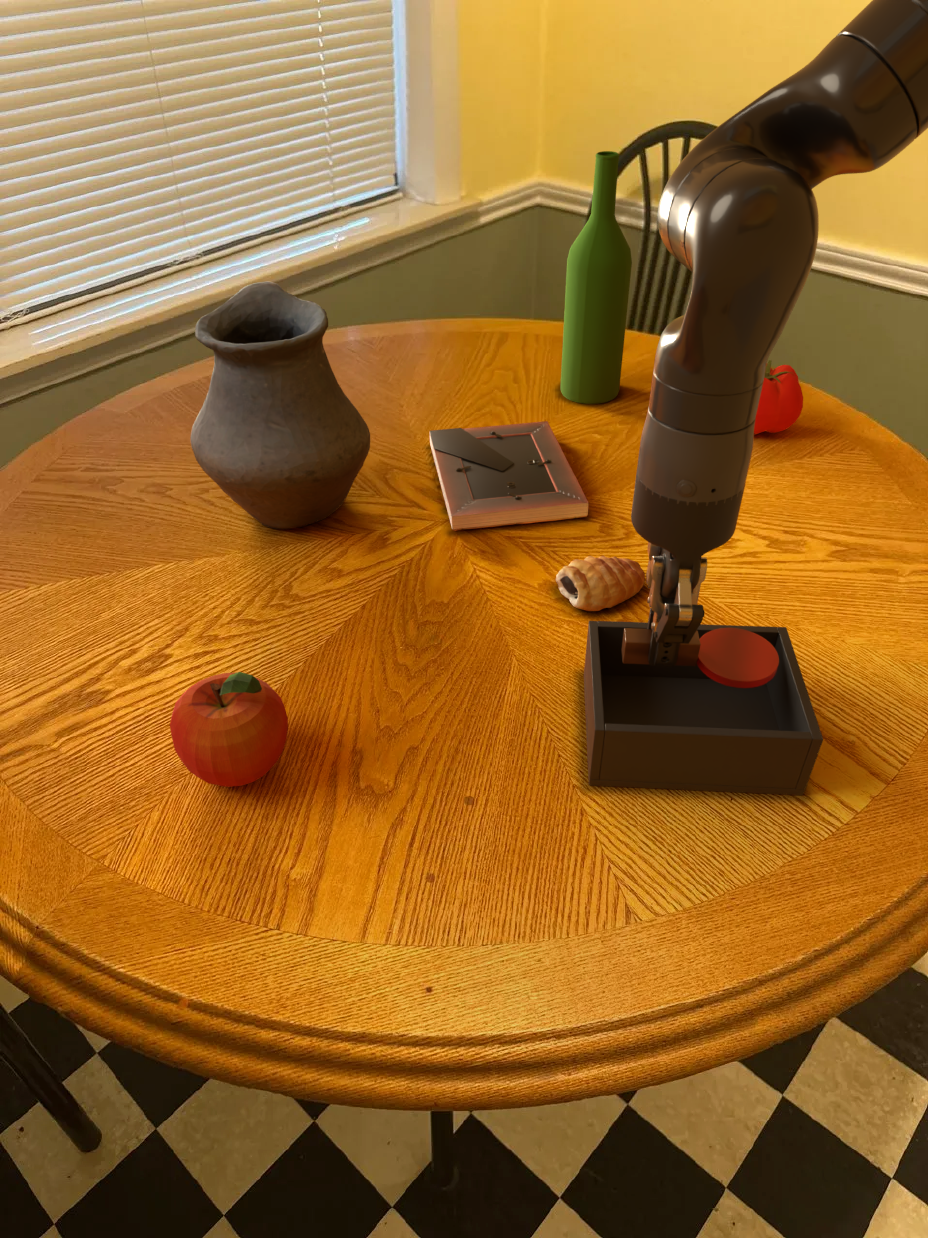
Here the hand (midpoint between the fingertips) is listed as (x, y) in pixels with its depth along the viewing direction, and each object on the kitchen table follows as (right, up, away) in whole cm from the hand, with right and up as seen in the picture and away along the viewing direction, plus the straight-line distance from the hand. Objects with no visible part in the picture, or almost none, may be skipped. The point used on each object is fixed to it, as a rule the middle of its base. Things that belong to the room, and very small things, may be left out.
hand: (659, 653), depth 71 cm
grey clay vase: (-38, +17, +36) cm, 55 cm away
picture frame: (-11, +21, +40) cm, 46 cm away
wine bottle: (+3, +37, +60) cm, 71 cm away
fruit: (-36, -10, +4) cm, 37 cm away
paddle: (+3, 0, 0) cm, 3 cm away
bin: (+4, -7, +6) cm, 10 cm away
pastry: (-2, +6, +22) cm, 22 cm away
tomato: (+25, +30, +50) cm, 63 cm away
